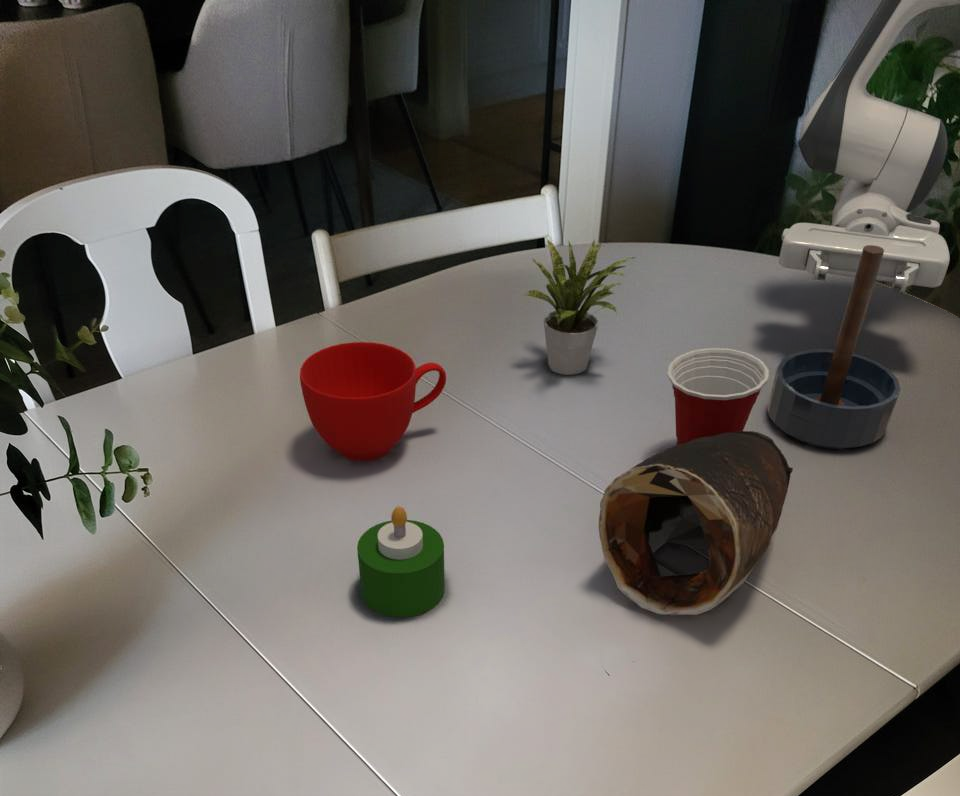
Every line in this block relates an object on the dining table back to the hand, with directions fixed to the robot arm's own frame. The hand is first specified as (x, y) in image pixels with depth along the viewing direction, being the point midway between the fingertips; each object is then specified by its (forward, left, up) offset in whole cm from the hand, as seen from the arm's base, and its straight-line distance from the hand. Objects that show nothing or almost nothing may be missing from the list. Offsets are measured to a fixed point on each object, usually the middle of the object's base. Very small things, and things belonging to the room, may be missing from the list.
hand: (860, 279), depth 119 cm
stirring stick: (+5, +10, -13) cm, 17 cm away
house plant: (+34, -6, -14) cm, 37 cm away
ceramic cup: (+60, +9, -14) cm, 62 cm away
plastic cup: (+23, +17, -14) cm, 31 cm away
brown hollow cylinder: (+27, +33, -14) cm, 45 cm away
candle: (+59, +36, -14) cm, 70 cm away
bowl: (+5, +10, -13) cm, 17 cm away
